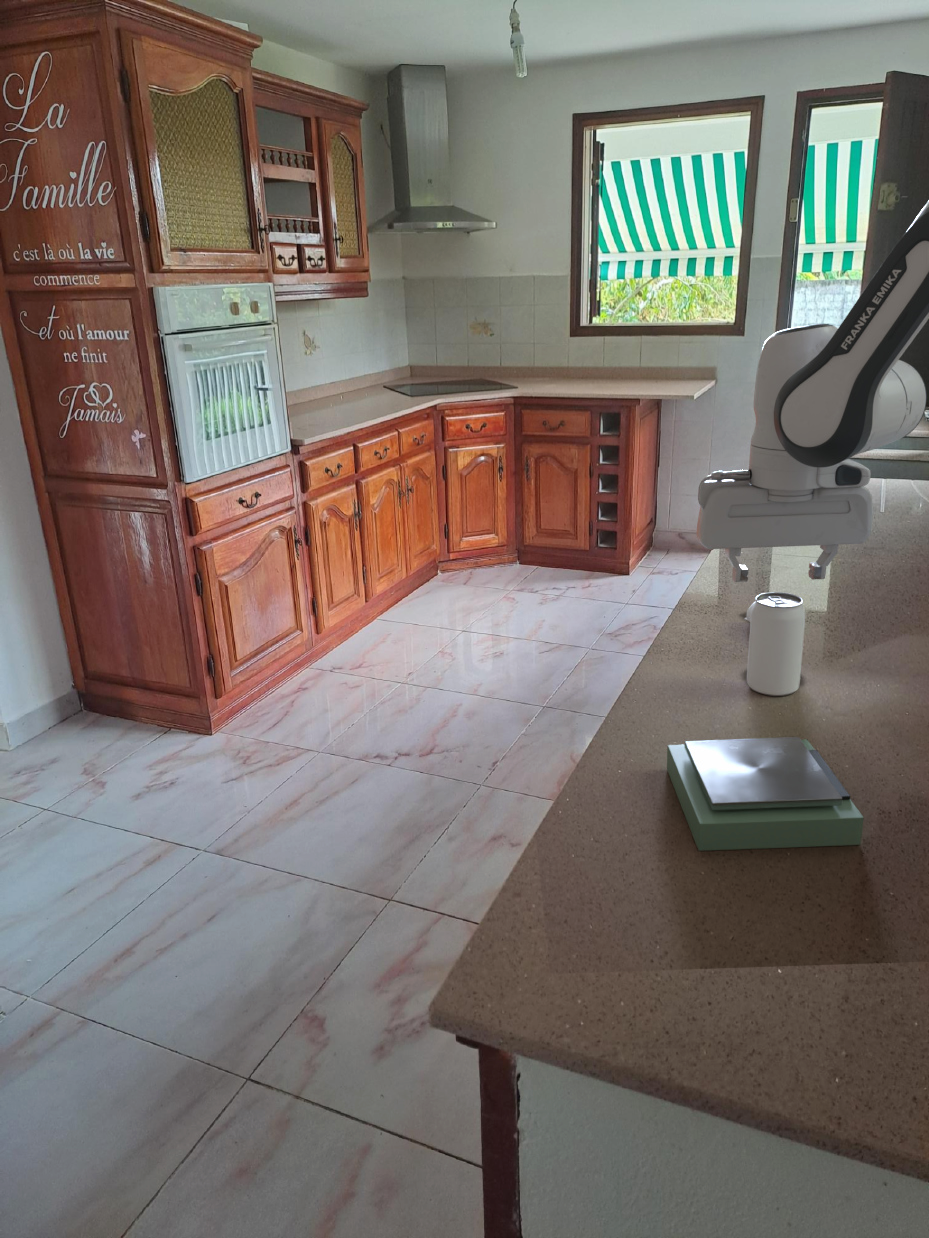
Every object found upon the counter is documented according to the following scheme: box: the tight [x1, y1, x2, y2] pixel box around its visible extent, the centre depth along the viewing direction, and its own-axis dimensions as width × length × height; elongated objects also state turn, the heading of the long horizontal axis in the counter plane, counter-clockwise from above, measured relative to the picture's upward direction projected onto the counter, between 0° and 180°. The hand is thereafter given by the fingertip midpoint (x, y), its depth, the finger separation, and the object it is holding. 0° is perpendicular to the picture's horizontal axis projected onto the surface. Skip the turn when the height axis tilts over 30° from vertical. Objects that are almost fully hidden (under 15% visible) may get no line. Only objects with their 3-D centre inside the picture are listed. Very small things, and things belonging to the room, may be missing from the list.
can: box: [746, 591, 806, 697], centre depth 112 cm, size 6×6×12 cm
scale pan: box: [684, 736, 842, 810], centre depth 88 cm, size 12×12×1 cm
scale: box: [666, 739, 864, 852], centre depth 88 cm, size 15×15×3 cm
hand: (778, 579), depth 109 cm, fingers open, 8 cm apart
